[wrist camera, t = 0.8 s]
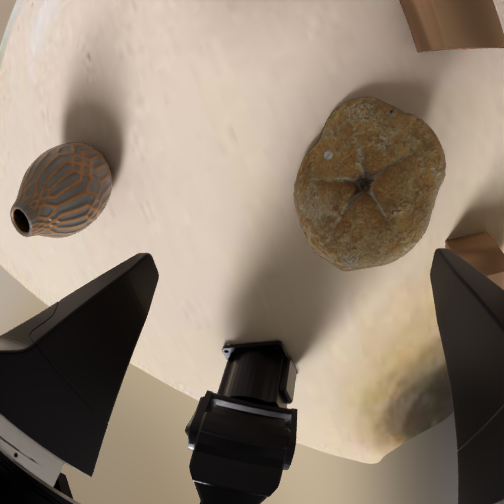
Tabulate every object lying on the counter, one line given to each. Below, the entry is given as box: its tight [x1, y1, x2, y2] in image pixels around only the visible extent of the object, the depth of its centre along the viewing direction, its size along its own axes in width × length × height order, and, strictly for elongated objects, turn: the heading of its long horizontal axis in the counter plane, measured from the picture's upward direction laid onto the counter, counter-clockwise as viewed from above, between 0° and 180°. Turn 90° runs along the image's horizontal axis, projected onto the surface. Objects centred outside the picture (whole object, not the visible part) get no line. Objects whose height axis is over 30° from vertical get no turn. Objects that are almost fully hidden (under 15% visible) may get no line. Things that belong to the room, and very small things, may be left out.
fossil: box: [294, 97, 446, 271], centre depth 17 cm, size 9×4×10 cm
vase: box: [10, 143, 112, 238], centre depth 19 cm, size 7×7×9 cm
